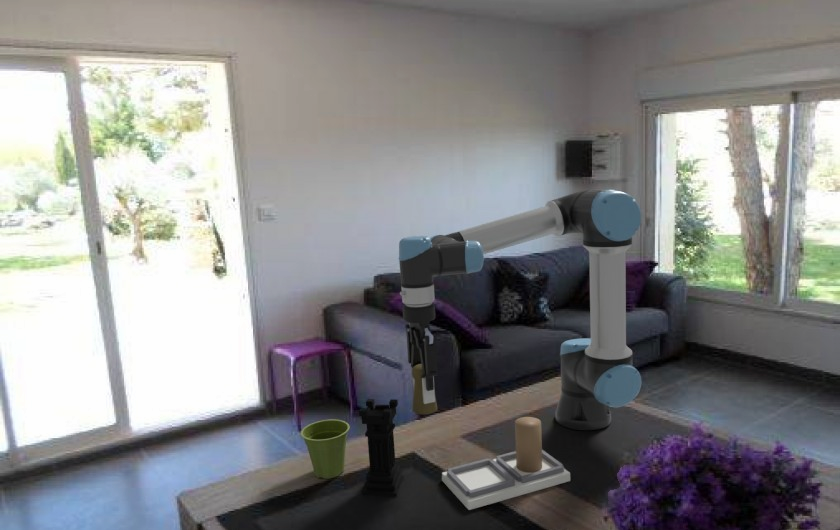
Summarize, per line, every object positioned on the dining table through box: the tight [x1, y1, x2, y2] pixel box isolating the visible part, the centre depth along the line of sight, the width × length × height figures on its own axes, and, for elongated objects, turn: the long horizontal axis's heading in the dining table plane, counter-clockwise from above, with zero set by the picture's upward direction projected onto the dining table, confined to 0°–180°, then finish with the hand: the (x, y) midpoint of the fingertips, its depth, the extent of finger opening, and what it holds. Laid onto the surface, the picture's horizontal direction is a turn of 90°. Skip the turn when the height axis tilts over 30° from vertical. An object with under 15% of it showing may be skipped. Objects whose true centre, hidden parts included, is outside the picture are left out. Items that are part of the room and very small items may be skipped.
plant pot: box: [300, 419, 351, 480], centre depth 150 cm, size 12×12×11 cm
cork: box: [411, 364, 438, 415], centre depth 146 cm, size 6×6×11 cm
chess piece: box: [358, 398, 406, 497], centre depth 141 cm, size 8×8×20 cm
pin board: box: [441, 416, 571, 511], centre depth 141 cm, size 26×14×13 cm, turn 112°
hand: (424, 398), depth 146 cm, fingers closed on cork, 5 cm apart
